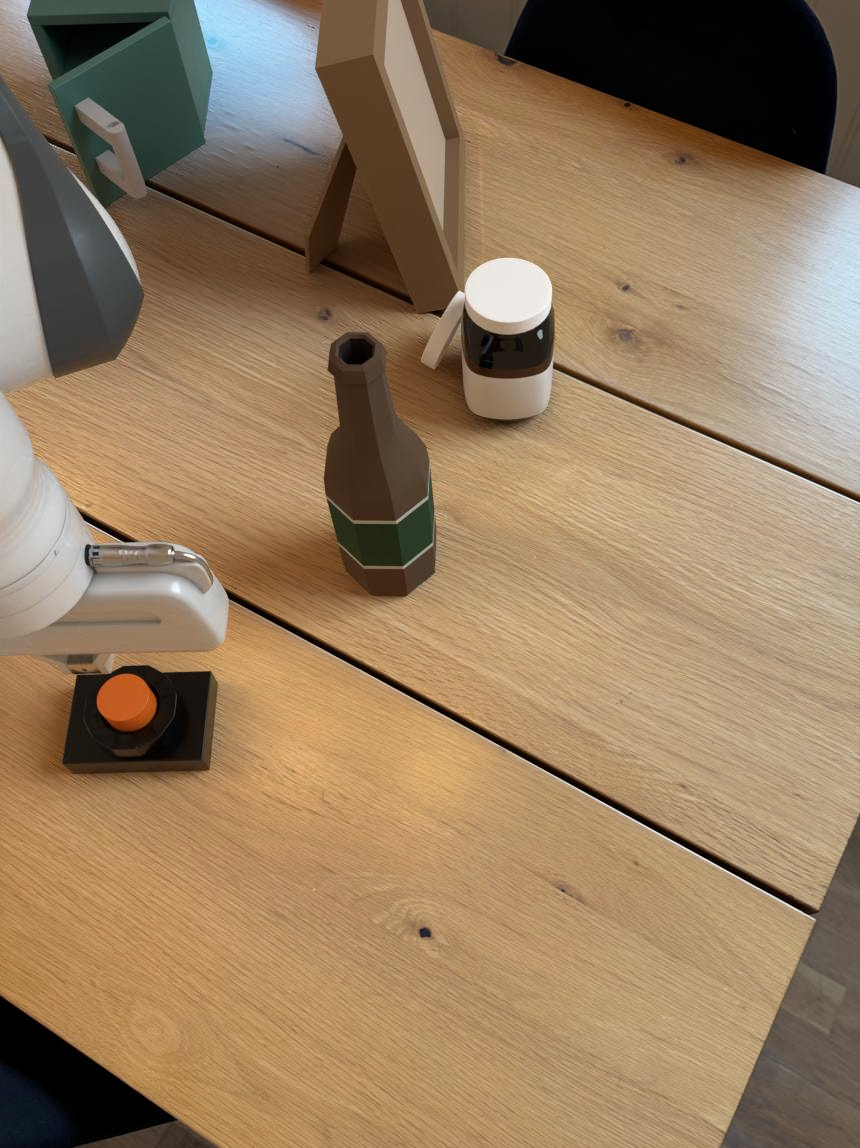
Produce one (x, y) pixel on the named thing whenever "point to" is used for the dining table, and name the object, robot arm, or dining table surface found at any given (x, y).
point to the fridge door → (129, 112)
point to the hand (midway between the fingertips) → (91, 664)
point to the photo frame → (393, 143)
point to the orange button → (127, 702)
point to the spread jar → (501, 339)
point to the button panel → (160, 745)
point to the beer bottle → (377, 476)
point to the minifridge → (118, 35)
